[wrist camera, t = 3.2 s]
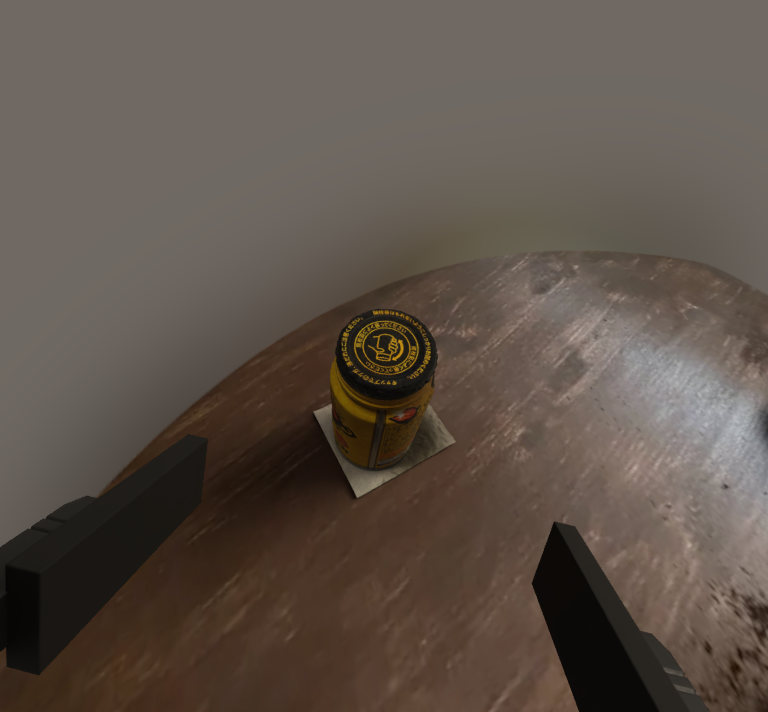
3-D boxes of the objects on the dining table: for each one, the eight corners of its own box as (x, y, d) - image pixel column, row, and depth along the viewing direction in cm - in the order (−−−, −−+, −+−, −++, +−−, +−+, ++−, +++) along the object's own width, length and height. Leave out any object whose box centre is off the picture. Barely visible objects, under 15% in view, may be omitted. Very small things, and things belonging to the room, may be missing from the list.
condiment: (313, 412, 30) (297, 319, 20) (405, 369, 33) (434, 268, 23) (357, 499, 27) (365, 441, 17) (454, 443, 30) (513, 364, 19)
